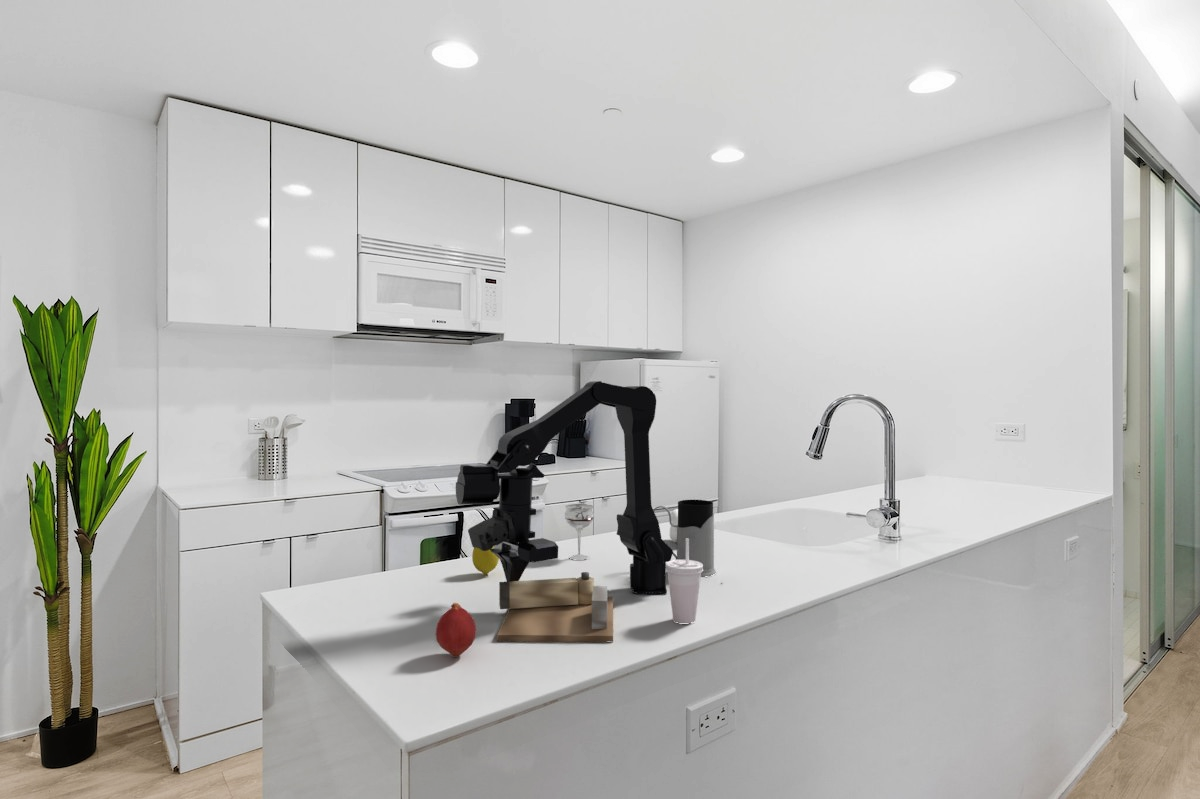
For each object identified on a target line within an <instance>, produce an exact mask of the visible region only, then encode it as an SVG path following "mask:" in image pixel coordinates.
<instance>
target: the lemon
mask: <svg viewBox="0 0 1200 799" xmlns="http://www.w3.org/2000/svg"><path fill="white" fill-rule="evenodd" d="M492 549H494V546H493V547H492ZM471 555H472V556H471V557H472V564H473V566H474V569H476V570H477V571H478V572H481V573H482V574H483V575H484V576H487V575H488V574H489V573H490V572H492V571H493V570H494V569H496V567H497V566H498V564H499V560H500V559H499V558H498V557H497V556H496V555H495V554H494V553H492V552H491V551H490V550H487V551H482V550H481V549H479V548H476V547H475V548H474V547H473V550H472V554H471Z"/></svg>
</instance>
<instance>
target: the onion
mask: <svg viewBox="0 0 1200 799" xmlns="http://www.w3.org/2000/svg"><path fill="white" fill-rule="evenodd" d="M476 635H477V624H476V621H475V619H474V617H473V616H472V615H471V614H470V612H468V611H467V610H466V609H465V608H463V607H462V606H461V605H460V603H459V602H453V603H452V604H451V605H450V608H449V609H448V610H447V611H445V612H444V613H443V614H442V615H441V616H440V618H439V619H438V621H437V625H436V628H435V638H436V642H437V643H438V645H439V646H440V647H441V648H442V650H444V651H446V652H447V653H449V655H451V656H452V657H453V658H457V657H460V656H461V655H462V654H463V653H464V652H466V651H467V650H468V649H469V648H470V647H471V646H472V645H473V643H474V641H475V638H476Z"/></svg>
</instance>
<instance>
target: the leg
mask: <svg viewBox="0 0 1200 799" xmlns="http://www.w3.org/2000/svg"><path fill="white" fill-rule="evenodd" d="M593 586H595V578H594V577H592V576H589V579H588V580H583V579H581V577H577V578H576V577H566V578H548V579H545V578H544V579H532V580H531V579H529V580H519V581H509V582H507V581H500V582H499V586H498V588H499V590H498V591H499V593H498V595H499V596H498V597H499V598H498V599H499V609H500V610H509V609H513V608H529V607H545V606H560V605H576V604H592V594H593Z"/></svg>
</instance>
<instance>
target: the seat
mask: <svg viewBox="0 0 1200 799" xmlns="http://www.w3.org/2000/svg"><path fill="white" fill-rule="evenodd" d="M580 574H581V575H580V576H581V579H583V580H588V579H589V577H590V572H588V571H582V572H581V573H580ZM496 641H497V642H518V641H521V643H522V642H523V641H526V642H527V643H528V642H529V641H530V642H531V643H532V642H533V643H534V642H537V643H538V642H539V643H540V642H541V643H543V642H544V643H545V642H547V643H551V642H552V643H558V642H559V643H564V642H565V643H606V642H605V641H613V642H614V596H608V586H603V585H602V586H601V585H599V586H597V585H594V586H593V594H592V604H576V605H560V606H545V607H529V608H513V609H508V611H507V614H506V616H505V618H504V620H503V623H502V624H501V626H500V628H499V630H498V633H497V635H496Z"/></svg>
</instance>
